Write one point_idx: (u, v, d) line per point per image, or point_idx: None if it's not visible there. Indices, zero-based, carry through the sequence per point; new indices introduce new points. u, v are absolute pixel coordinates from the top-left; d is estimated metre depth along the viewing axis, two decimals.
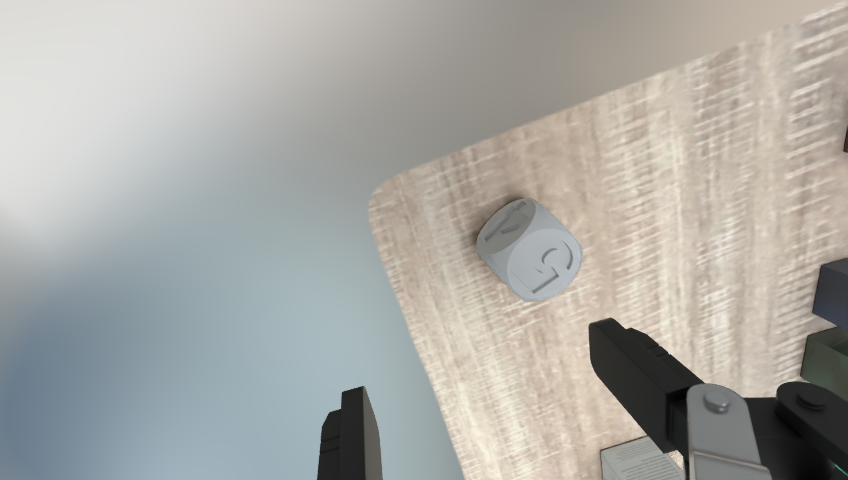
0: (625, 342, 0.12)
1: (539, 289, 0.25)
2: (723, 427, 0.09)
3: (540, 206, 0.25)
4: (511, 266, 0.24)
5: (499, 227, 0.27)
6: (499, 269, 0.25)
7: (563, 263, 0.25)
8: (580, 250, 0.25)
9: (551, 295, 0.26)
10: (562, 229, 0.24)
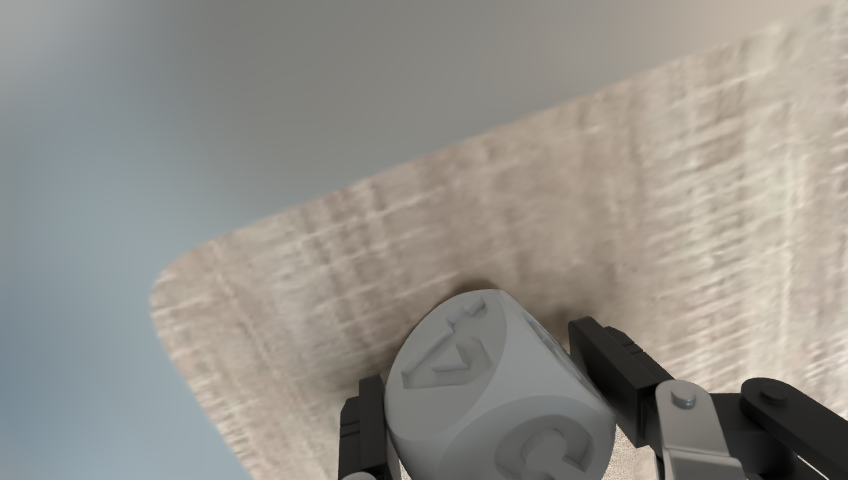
0: (601, 340, 0.13)
1: None
2: (688, 421, 0.09)
3: (518, 325, 0.11)
4: (445, 479, 0.10)
5: (434, 350, 0.13)
6: (419, 478, 0.10)
7: (572, 455, 0.11)
8: (612, 432, 0.10)
9: None
10: (570, 393, 0.10)
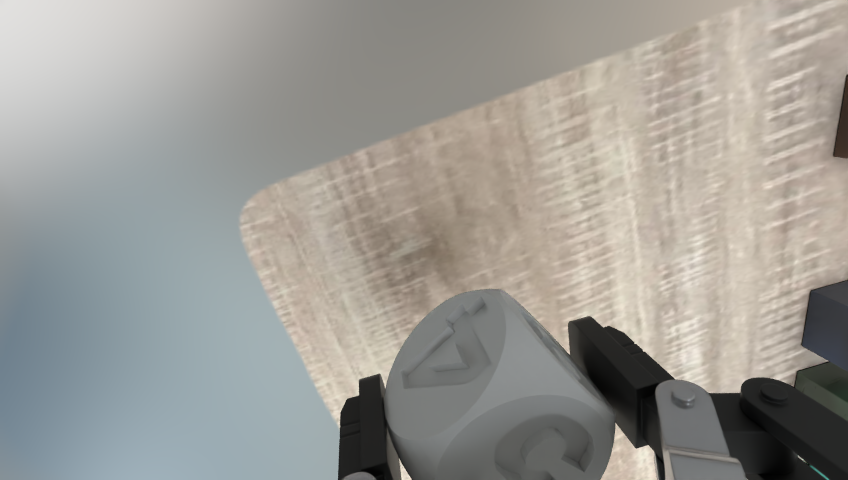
0: (601, 340, 0.13)
1: None
2: (687, 421, 0.09)
3: (518, 325, 0.11)
4: (445, 478, 0.10)
5: (434, 350, 0.13)
6: (419, 478, 0.10)
7: (571, 454, 0.11)
8: (611, 432, 0.10)
9: None
10: (570, 393, 0.10)
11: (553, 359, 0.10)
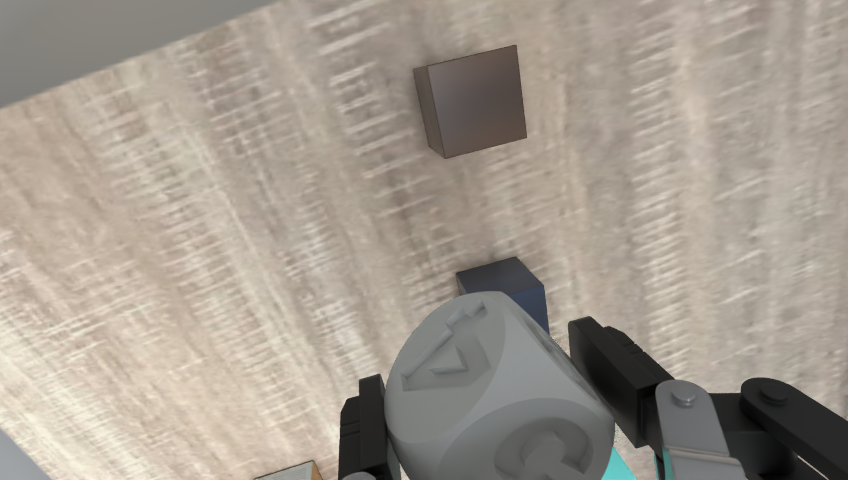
0: (601, 340, 0.13)
1: None
2: (687, 421, 0.09)
3: (517, 328, 0.11)
4: None
5: (433, 352, 0.13)
6: None
7: (571, 457, 0.11)
8: (611, 434, 0.10)
9: None
10: (569, 396, 0.10)
11: (553, 362, 0.10)
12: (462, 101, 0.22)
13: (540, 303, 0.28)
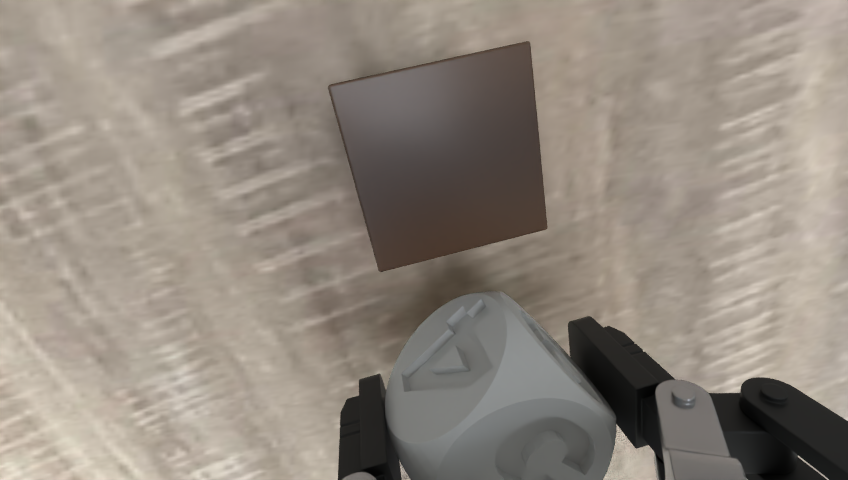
0: (601, 340, 0.13)
1: None
2: (687, 421, 0.09)
3: (518, 328, 0.11)
4: None
5: (435, 353, 0.13)
6: None
7: (572, 457, 0.11)
8: (611, 434, 0.10)
9: None
10: (571, 396, 0.10)
11: (554, 362, 0.10)
12: (413, 160, 0.10)
13: None
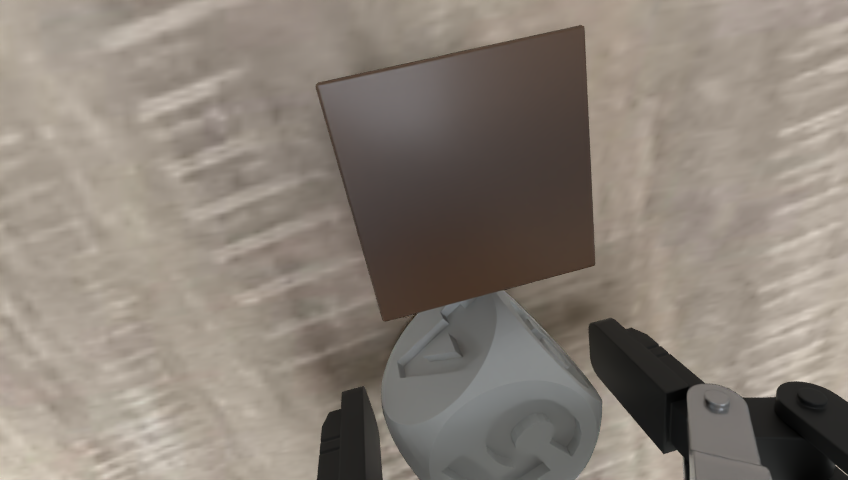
0: (625, 342, 0.12)
1: None
2: (723, 427, 0.09)
3: (508, 315, 0.11)
4: (438, 461, 0.11)
5: (429, 341, 0.13)
6: (414, 461, 0.11)
7: (559, 439, 0.11)
8: (596, 417, 0.11)
9: None
10: (557, 379, 0.10)
11: (541, 347, 0.11)
12: (427, 182, 0.08)
13: None
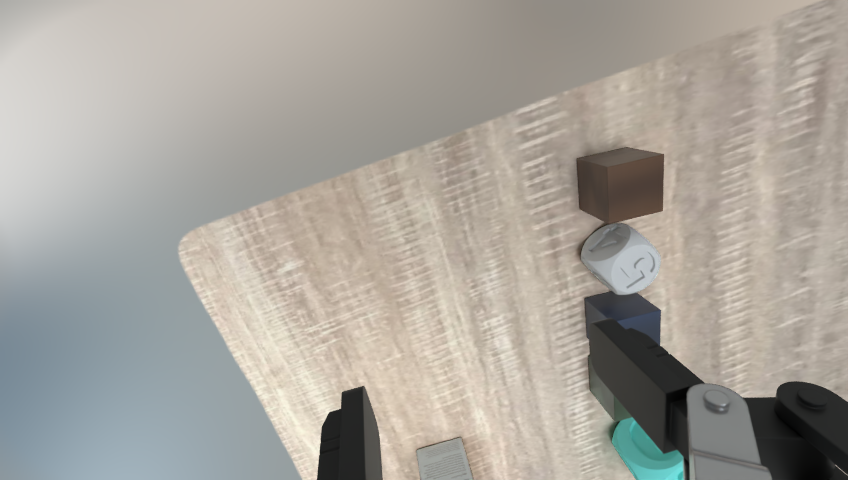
0: (625, 342, 0.12)
1: (631, 285, 0.37)
2: (723, 427, 0.09)
3: (632, 229, 0.37)
4: (614, 269, 0.36)
5: (599, 242, 0.39)
6: (605, 271, 0.37)
7: (647, 268, 0.37)
8: (660, 259, 0.37)
9: (638, 290, 0.37)
10: (649, 245, 0.36)
11: (644, 237, 0.36)
12: (625, 188, 0.34)
13: (656, 322, 0.39)
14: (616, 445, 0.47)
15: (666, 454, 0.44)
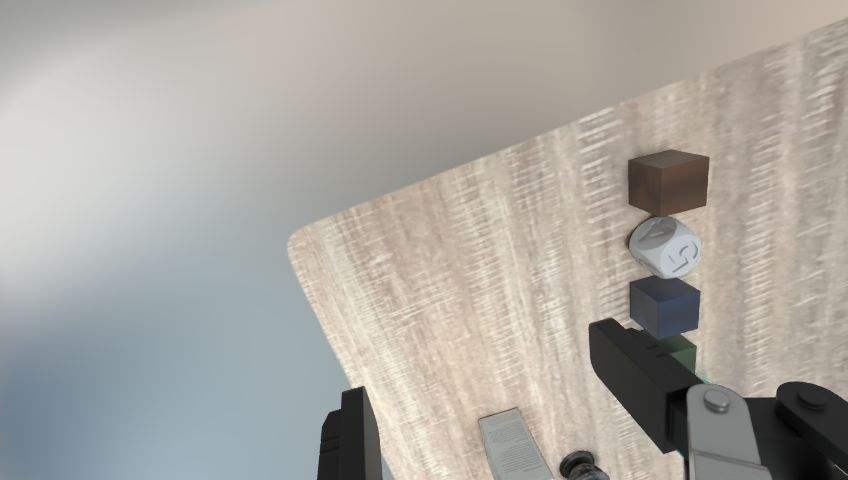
0: (625, 342, 0.12)
1: (676, 270, 0.43)
2: (723, 427, 0.09)
3: (678, 221, 0.42)
4: (663, 256, 0.42)
5: (646, 233, 0.44)
6: (654, 258, 0.42)
7: (690, 255, 0.43)
8: (701, 247, 0.42)
9: (682, 274, 0.43)
10: (693, 235, 0.42)
11: (688, 228, 0.42)
12: (676, 186, 0.39)
13: (696, 302, 0.45)
14: None
15: None
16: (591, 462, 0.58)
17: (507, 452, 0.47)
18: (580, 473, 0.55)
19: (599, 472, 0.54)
